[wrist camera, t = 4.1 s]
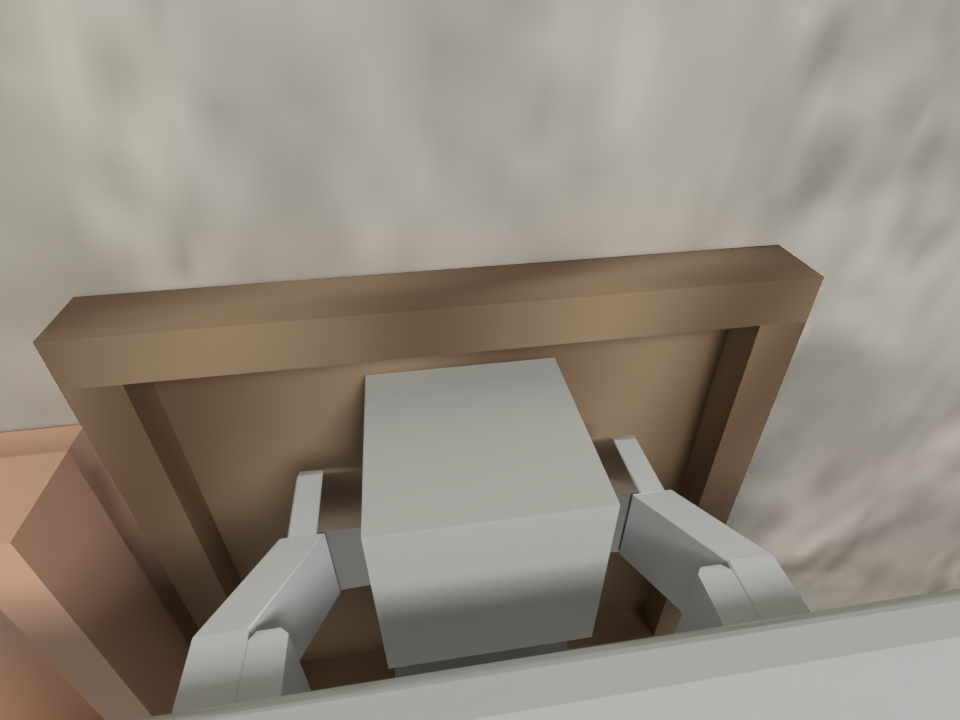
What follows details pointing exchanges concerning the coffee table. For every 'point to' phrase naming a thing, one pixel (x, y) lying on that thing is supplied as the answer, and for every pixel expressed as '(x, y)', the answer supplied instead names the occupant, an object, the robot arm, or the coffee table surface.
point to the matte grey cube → (481, 511)
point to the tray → (409, 347)
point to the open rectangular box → (80, 590)
